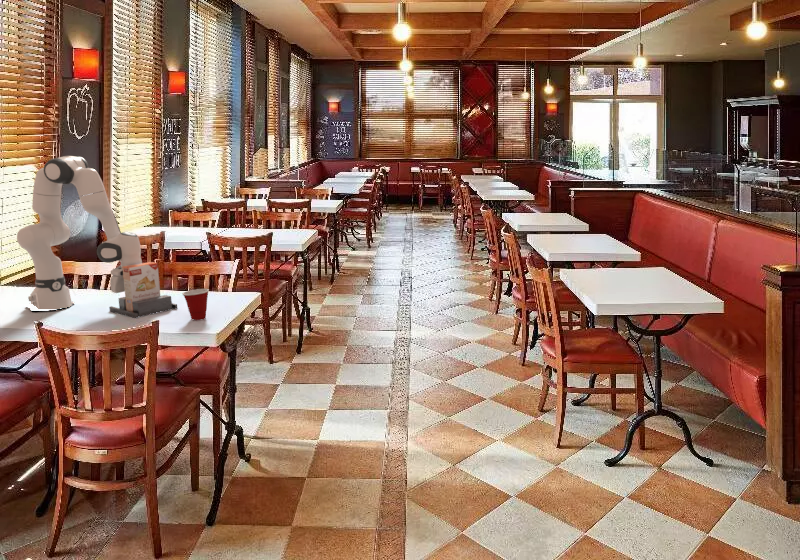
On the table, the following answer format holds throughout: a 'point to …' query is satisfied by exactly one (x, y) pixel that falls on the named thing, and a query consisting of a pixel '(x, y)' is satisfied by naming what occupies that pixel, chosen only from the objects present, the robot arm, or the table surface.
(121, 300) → the block
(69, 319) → the table surface
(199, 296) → the plastic cup
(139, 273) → the cracker box
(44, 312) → the table surface
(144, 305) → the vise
